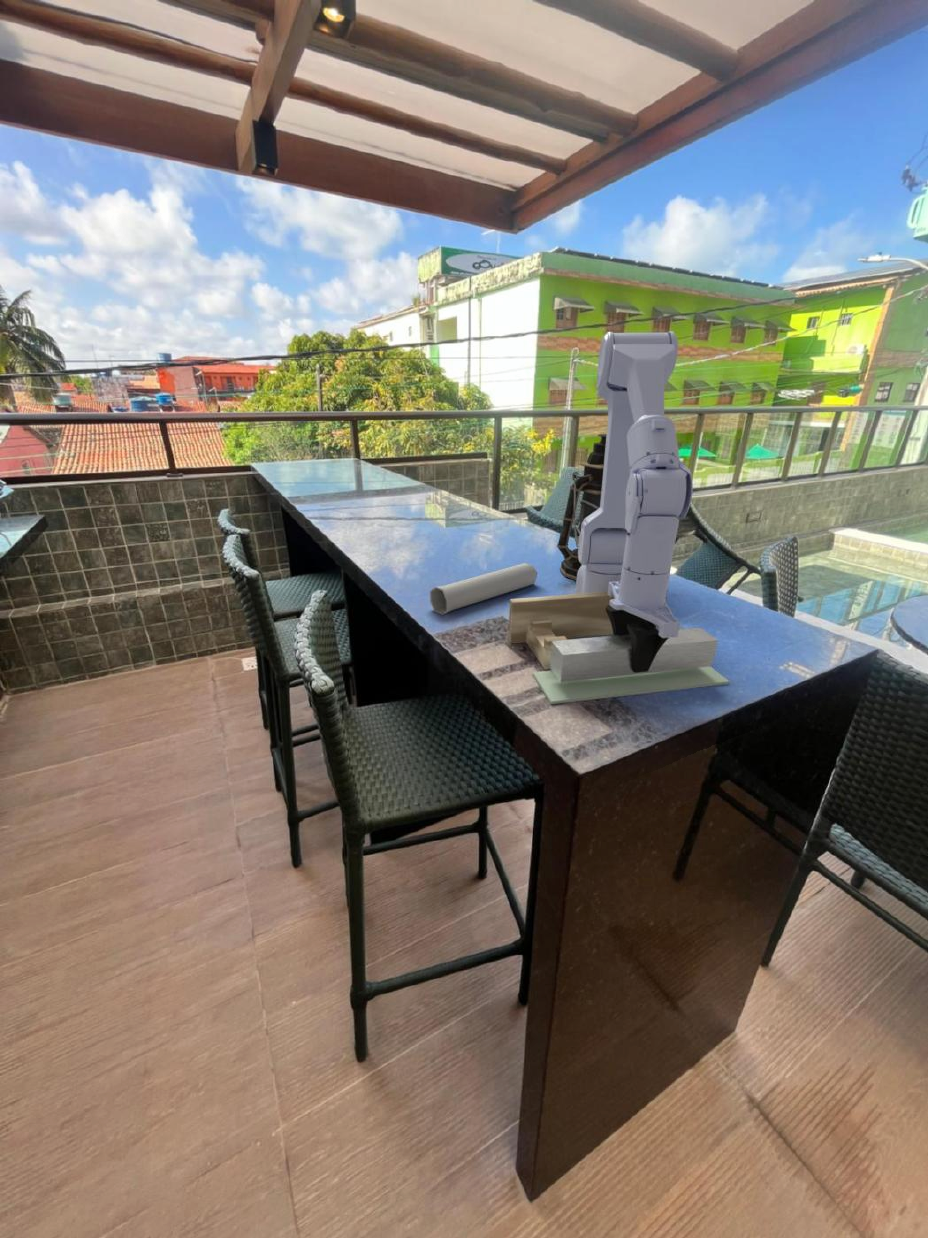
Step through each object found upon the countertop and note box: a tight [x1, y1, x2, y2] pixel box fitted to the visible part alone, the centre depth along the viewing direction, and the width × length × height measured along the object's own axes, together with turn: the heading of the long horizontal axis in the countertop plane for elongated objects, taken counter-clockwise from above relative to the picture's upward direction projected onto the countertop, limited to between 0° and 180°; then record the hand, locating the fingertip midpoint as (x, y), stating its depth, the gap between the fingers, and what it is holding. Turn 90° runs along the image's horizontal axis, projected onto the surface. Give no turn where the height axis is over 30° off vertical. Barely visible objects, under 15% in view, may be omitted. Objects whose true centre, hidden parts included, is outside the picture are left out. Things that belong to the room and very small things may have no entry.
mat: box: [531, 666, 730, 705], centre depth 70 cm, size 8×26×1 cm, turn 101°
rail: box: [550, 627, 719, 682], centre depth 68 cm, size 4×22×4 cm, turn 101°
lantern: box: [556, 433, 626, 582], centre depth 106 cm, size 20×16×30 cm
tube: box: [429, 562, 538, 616], centre depth 98 cm, size 5×5×25 cm
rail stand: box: [508, 591, 683, 671], centre depth 78 cm, size 10×26×7 cm, turn 101°
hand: (631, 662), depth 69 cm, fingers closed on rail, 4 cm apart
